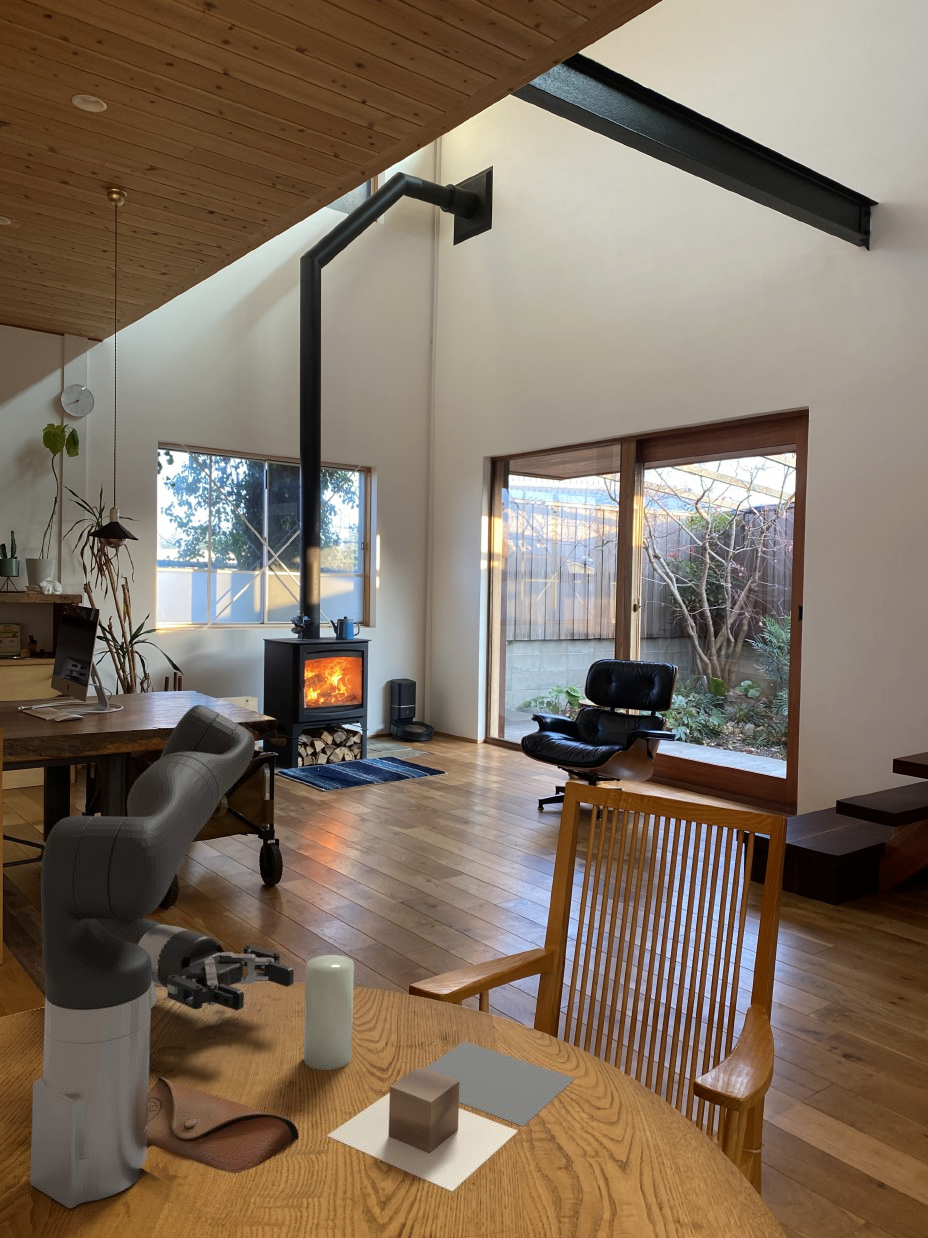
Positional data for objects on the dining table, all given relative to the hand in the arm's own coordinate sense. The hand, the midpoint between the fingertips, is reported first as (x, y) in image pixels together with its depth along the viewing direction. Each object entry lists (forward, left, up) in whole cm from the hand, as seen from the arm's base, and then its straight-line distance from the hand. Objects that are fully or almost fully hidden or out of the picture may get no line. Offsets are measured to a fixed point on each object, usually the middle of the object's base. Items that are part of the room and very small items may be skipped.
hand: (267, 989), depth 113 cm
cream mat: (-6, -28, -6) cm, 30 cm away
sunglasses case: (-19, -10, -7) cm, 23 cm away
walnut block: (-6, -28, -5) cm, 29 cm away
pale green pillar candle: (0, -10, -6) cm, 12 cm away
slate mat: (+7, -28, -6) cm, 30 cm away
